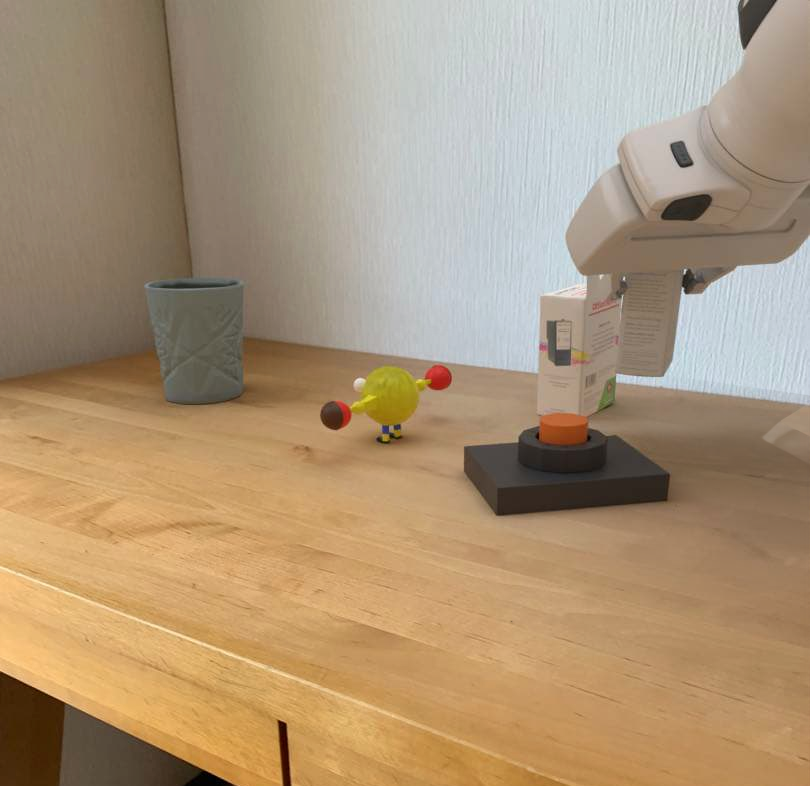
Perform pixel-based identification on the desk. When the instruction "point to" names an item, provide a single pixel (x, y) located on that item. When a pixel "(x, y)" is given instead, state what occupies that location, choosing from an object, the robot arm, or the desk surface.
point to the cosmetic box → (649, 323)
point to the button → (563, 429)
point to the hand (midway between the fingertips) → (648, 291)
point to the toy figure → (386, 399)
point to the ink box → (577, 350)
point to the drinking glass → (198, 337)
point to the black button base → (563, 474)
